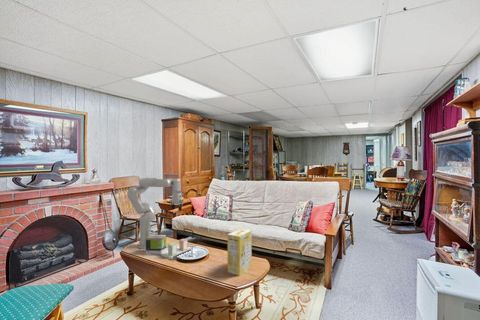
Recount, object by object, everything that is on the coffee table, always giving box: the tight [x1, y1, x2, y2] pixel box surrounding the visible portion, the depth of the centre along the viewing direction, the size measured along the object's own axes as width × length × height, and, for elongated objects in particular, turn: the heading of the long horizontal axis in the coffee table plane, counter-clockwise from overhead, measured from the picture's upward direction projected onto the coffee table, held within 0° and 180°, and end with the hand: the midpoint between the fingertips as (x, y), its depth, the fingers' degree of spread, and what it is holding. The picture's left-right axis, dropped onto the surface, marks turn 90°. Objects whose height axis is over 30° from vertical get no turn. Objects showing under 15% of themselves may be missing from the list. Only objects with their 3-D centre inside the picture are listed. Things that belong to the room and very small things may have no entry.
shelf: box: [160, 243, 192, 261], centre depth 204 cm, size 17×20×4 cm
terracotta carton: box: [178, 238, 188, 251], centre depth 209 cm, size 5×5×9 cm
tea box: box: [145, 234, 167, 256], centre depth 208 cm, size 15×10×15 cm
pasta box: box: [226, 227, 253, 277], centre depth 176 cm, size 18×10×28 cm, turn 149°
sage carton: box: [167, 242, 178, 256], centre depth 198 cm, size 5×5×9 cm
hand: (176, 209), depth 218 cm, fingers open, 9 cm apart
